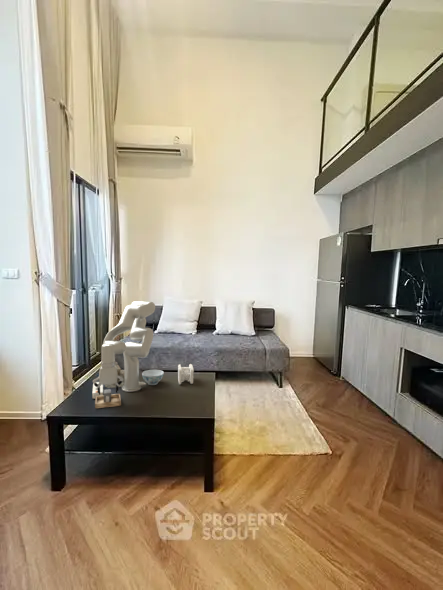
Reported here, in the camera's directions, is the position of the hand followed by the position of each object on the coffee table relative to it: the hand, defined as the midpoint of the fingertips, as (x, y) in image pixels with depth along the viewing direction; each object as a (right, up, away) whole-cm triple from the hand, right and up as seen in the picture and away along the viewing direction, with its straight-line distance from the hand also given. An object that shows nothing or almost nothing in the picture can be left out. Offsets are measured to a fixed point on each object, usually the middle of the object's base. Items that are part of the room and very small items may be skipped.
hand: (108, 392), depth 187 cm
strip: (-12, -5, +16) cm, 21 cm away
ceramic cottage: (-4, -4, +32) cm, 33 cm away
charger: (+1, -3, -4) cm, 5 cm away
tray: (0, -6, 0) cm, 6 cm away
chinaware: (+19, -5, +35) cm, 40 cm away
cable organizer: (+41, -5, +40) cm, 58 cm away
